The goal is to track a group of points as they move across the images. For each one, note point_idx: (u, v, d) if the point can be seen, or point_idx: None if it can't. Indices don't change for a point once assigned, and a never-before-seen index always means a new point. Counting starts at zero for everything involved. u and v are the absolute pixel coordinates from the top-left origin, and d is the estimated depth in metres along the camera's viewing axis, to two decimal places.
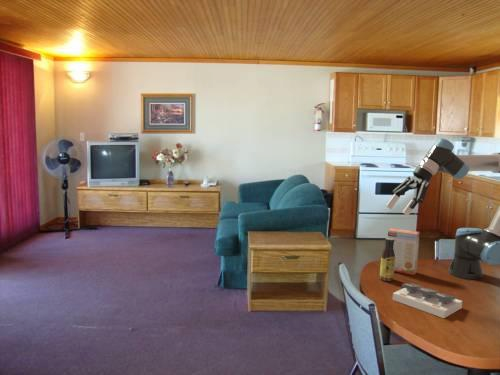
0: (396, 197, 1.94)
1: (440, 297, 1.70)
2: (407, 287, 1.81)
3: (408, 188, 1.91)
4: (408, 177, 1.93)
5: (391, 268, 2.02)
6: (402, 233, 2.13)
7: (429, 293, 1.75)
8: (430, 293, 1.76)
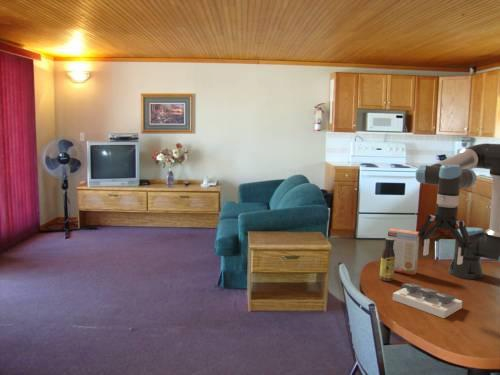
0: (427, 241, 1.74)
1: (440, 297, 1.70)
2: (407, 287, 1.81)
3: (437, 228, 1.71)
4: (429, 217, 1.71)
5: (391, 268, 2.02)
6: (402, 233, 2.13)
7: (429, 293, 1.75)
8: (430, 293, 1.76)
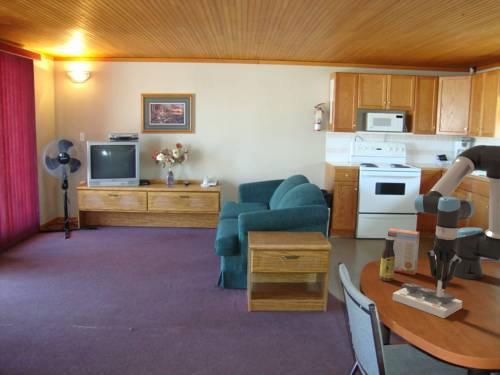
0: None
1: (440, 298, 1.70)
2: (407, 287, 1.81)
3: (442, 262, 1.70)
4: (428, 252, 1.72)
5: (391, 268, 2.02)
6: (402, 233, 2.13)
7: (429, 293, 1.75)
8: (430, 293, 1.76)
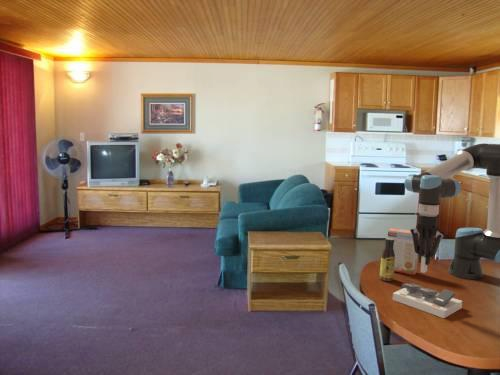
0: None
1: (439, 302, 1.70)
2: (407, 287, 1.81)
3: (424, 239, 1.75)
4: (412, 230, 1.77)
5: (391, 268, 2.02)
6: (402, 233, 2.13)
7: (429, 293, 1.75)
8: (430, 293, 1.76)
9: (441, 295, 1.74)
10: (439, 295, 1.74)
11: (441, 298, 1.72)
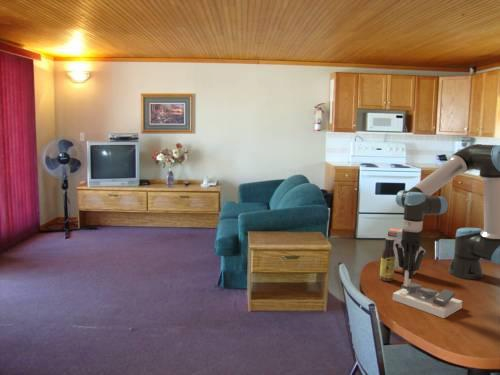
0: None
1: (439, 303, 1.70)
2: (407, 288, 1.81)
3: (408, 253, 1.80)
4: (396, 244, 1.82)
5: (391, 268, 2.02)
6: None
7: (429, 293, 1.75)
8: (430, 293, 1.76)
9: (441, 295, 1.74)
10: (439, 295, 1.74)
11: (441, 298, 1.72)
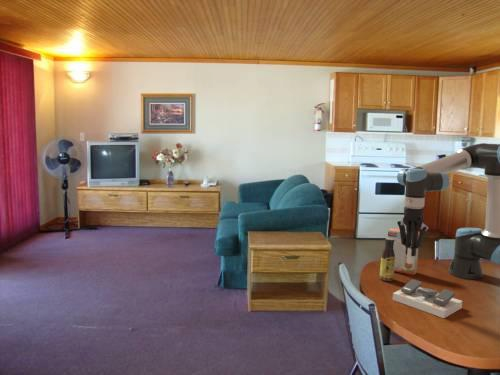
0: None
1: (439, 303, 1.70)
2: (406, 292, 1.81)
3: (411, 231, 1.79)
4: (398, 222, 1.81)
5: (391, 268, 2.02)
6: None
7: (429, 293, 1.75)
8: (430, 293, 1.76)
9: (441, 295, 1.74)
10: (439, 295, 1.74)
11: (441, 298, 1.72)
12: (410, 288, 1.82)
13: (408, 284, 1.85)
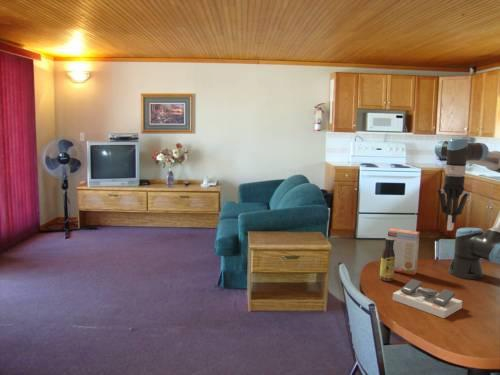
0: None
1: (439, 303, 1.70)
2: (406, 292, 1.81)
3: (451, 199, 1.86)
4: (439, 190, 1.88)
5: (391, 268, 2.02)
6: (402, 233, 2.13)
7: (429, 293, 1.75)
8: (430, 293, 1.76)
9: (441, 295, 1.74)
10: (439, 295, 1.74)
11: (441, 298, 1.72)
12: (410, 288, 1.82)
13: (408, 284, 1.85)
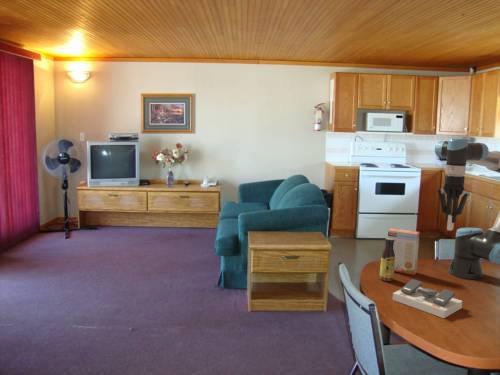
0: None
1: (439, 303, 1.70)
2: (406, 292, 1.81)
3: (451, 198, 1.86)
4: (439, 190, 1.88)
5: (391, 268, 2.02)
6: (402, 233, 2.13)
7: (429, 293, 1.75)
8: (430, 293, 1.76)
9: (441, 295, 1.74)
10: (439, 295, 1.74)
11: (441, 298, 1.72)
12: (410, 288, 1.82)
13: (408, 284, 1.85)
